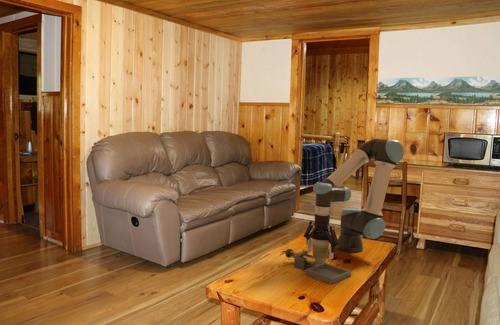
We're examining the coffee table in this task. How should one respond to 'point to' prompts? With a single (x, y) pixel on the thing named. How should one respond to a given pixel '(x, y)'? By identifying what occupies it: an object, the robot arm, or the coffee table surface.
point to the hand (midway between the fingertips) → (319, 255)
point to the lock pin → (310, 260)
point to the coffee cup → (320, 247)
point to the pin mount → (302, 261)
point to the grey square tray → (328, 273)
